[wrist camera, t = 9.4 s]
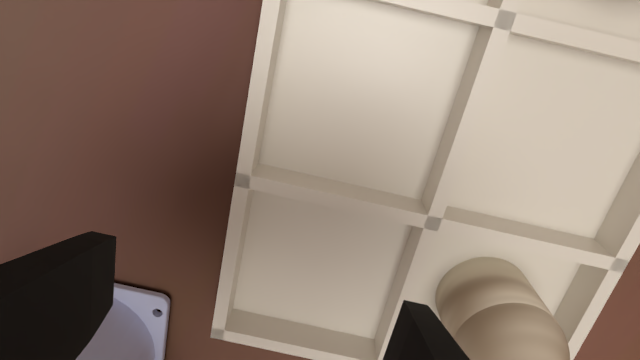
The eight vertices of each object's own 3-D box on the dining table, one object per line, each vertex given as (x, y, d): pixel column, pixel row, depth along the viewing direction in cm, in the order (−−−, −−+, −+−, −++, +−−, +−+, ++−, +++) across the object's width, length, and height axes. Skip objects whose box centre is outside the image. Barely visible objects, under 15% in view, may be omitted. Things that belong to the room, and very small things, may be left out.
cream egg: (508, 341, 21) (563, 446, 16) (423, 323, 21) (450, 423, 16) (543, 267, 19) (616, 358, 14) (452, 247, 19) (491, 331, 14)
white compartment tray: (526, 373, 22) (545, 409, 20) (222, 308, 22) (210, 337, 20) (820, -188, 14) (904, -225, 12) (325, -314, 13) (321, -375, 11)
